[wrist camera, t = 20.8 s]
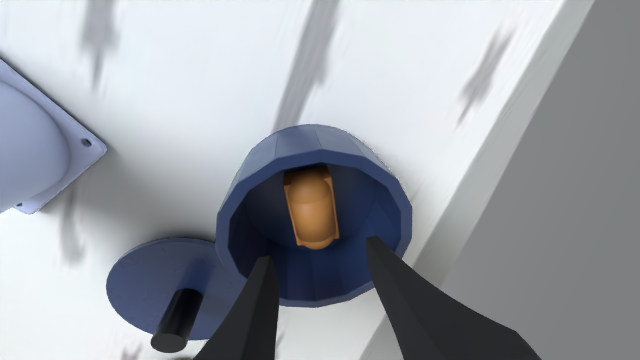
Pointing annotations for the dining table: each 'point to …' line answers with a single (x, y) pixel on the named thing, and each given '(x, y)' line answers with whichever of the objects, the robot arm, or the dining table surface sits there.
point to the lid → (172, 291)
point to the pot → (276, 226)
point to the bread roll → (312, 206)
